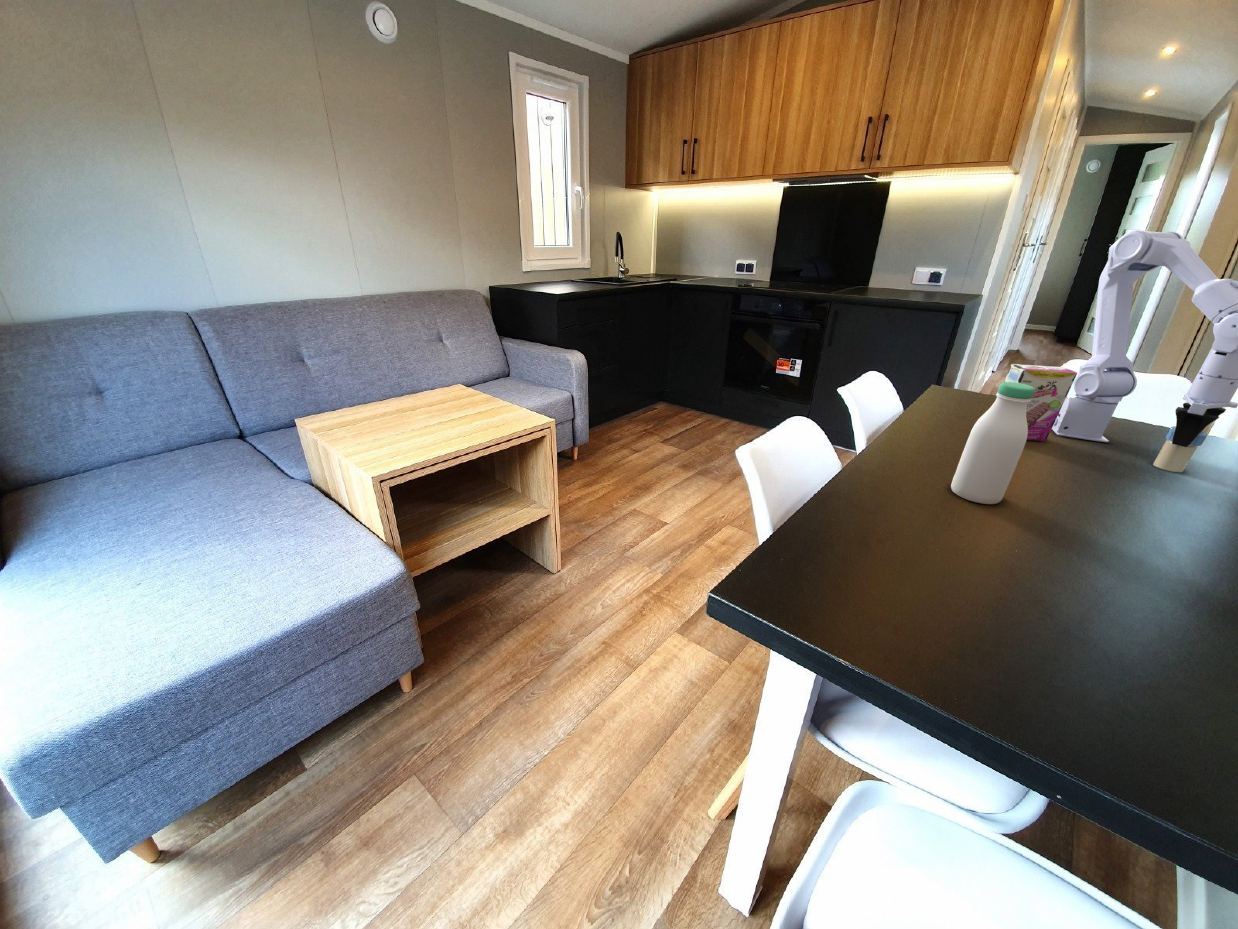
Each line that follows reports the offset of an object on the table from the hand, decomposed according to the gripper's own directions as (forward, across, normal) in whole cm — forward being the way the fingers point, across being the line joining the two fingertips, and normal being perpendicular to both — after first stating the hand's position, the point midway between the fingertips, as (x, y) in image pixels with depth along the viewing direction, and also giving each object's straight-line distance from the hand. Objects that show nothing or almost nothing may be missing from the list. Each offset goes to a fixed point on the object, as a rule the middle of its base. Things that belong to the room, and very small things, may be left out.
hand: (1182, 442), depth 98 cm
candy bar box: (+6, -8, +24) cm, 26 cm away
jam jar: (+6, 0, 0) cm, 6 cm away
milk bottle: (+6, -49, +17) cm, 52 cm away
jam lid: (-2, 0, 0) cm, 2 cm away
